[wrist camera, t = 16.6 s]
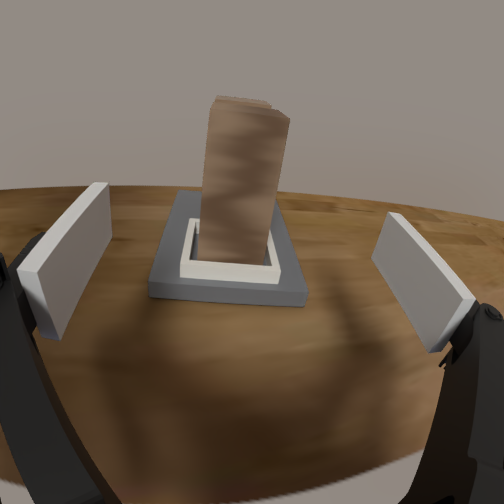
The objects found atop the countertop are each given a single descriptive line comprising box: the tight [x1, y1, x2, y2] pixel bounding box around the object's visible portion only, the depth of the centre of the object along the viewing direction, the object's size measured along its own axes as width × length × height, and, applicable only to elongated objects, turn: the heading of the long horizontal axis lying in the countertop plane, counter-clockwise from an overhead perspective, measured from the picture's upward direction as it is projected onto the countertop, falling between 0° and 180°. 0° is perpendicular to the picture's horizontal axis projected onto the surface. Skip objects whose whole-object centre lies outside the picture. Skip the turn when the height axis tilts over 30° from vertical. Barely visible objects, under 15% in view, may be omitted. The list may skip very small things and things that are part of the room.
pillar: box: [197, 102, 290, 266], centre depth 23 cm, size 5×5×12 cm
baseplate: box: [148, 96, 309, 307], centre depth 27 cm, size 12×18×14 cm, turn 4°
